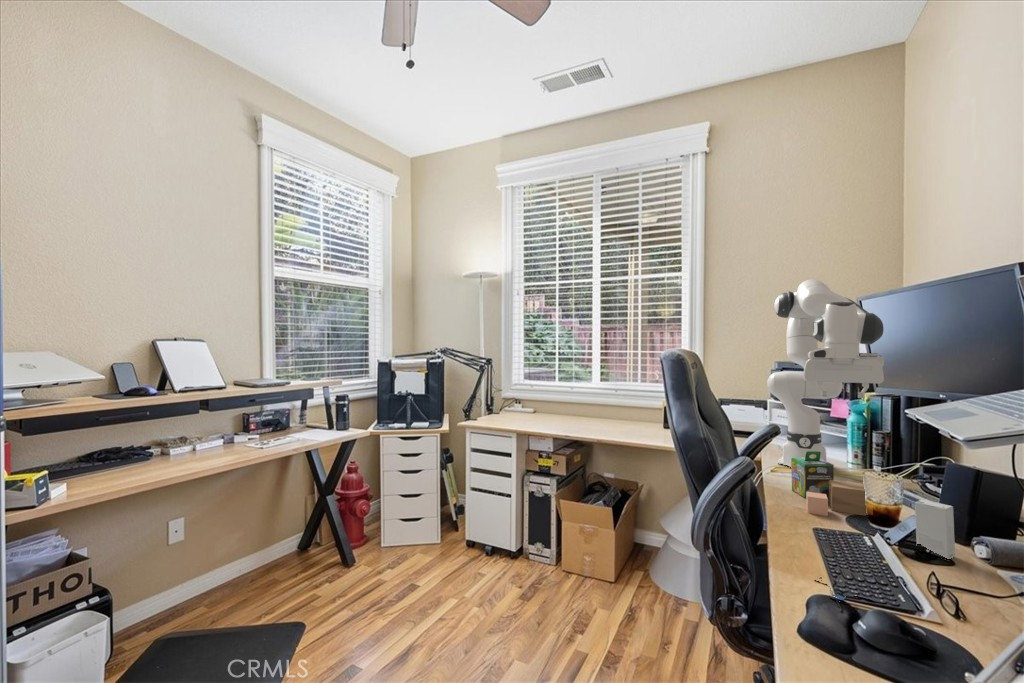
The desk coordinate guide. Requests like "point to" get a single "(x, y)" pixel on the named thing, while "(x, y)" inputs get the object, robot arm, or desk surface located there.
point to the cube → (817, 503)
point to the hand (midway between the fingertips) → (842, 397)
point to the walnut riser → (847, 497)
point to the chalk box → (811, 474)
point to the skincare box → (935, 527)
